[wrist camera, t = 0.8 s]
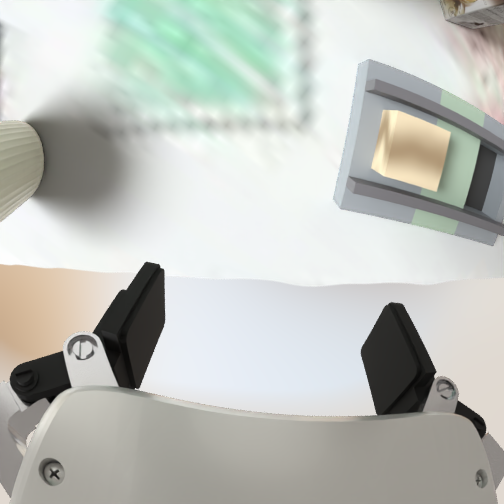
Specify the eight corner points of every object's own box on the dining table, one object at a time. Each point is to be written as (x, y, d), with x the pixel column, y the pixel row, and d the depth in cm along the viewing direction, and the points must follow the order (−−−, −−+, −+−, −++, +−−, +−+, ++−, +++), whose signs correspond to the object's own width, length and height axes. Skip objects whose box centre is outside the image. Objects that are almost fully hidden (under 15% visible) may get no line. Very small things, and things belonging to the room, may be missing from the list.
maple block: (382, 109, 25) (397, 110, 22) (432, 128, 26) (450, 132, 22) (371, 168, 29) (384, 176, 25) (420, 182, 29) (436, 192, 25)
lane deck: (358, 64, 26) (378, 54, 20) (507, 135, 27) (535, 144, 21) (333, 198, 35) (346, 218, 29) (480, 235, 35) (503, 255, 29)
